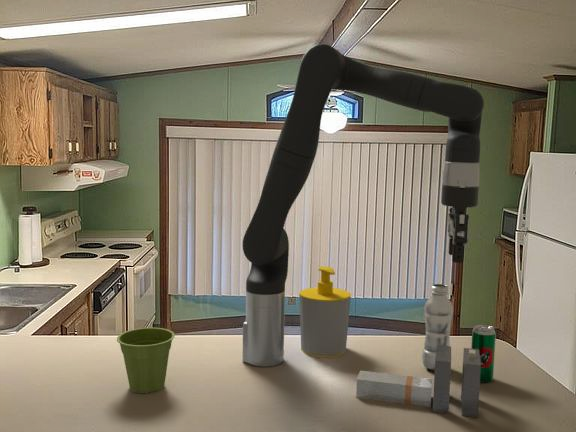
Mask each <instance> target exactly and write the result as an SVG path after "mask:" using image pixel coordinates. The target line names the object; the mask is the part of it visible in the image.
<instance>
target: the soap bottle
mask: <svg viewBox="0 0 576 432" xmlns="http://www.w3.org/2000/svg"><path fill="white" fill-rule="evenodd" d="M317 271H320V280H318V281H317V287H316V286H315V287H309V288H304V289H302V290H300V291H299V293H298V297H299V299H298V300H299V321H300V325H299V326H300V327H299V328H300V350H301V352H303V353H304V354H305V353H306V355H308V356H311V357H317V358H337V357H340V356H342V355H344V354H345V353H346V352H347V342H348V329H349V318H350V307H351V297H352V295H351V292H350V291H347V290H345V289H342V288H336V287H334V281H332V280H331V275H333V276H334V275H335V274H336V273H335V270H334V268H332V267H330V266H320V267H318V270H317Z"/></svg>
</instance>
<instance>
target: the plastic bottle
mask: <svg viewBox="0 0 576 432" xmlns="http://www.w3.org/2000/svg"><path fill="white" fill-rule="evenodd" d="M430 294H431V296H430V297H429V298H427V300H426V302H425V304H424V306H423V311H424V321H425V337H424V338H425V339H424V347H423V349H422V355H421V359H422V364H423V366H424V367H425V369H428V370H431V371H435V357H436V345H440V346H450V347H451V343H450V341H451V339H450V337H451V336H450V334H451V323H452V319H453V314H454V307H453V304H452V302H451V300H450V299H449V297H448V295H449V285H447V284H444V283H443V284H441V283H434V284H431V290H430Z"/></svg>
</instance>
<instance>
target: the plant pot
mask: <svg viewBox="0 0 576 432" xmlns="http://www.w3.org/2000/svg"><path fill="white" fill-rule="evenodd" d="M175 336H176V334H175V332H173V331H172V330H170V329H168V328H162V327H140V328H134V329H130V330H127V331H124V332H122V333H120V334H119V335H118V336H117V337H116V341H117V343H119V346H120V351H121V353H122V355H123V361H124V365H125V371H126V375H127V382H128V384H129V385H128V386H129V388H130V390H131V391H132V392H133V393H138V394H147V393H149V392H158V391H160V390H162V389H163V388H164V387H165V385H166V378H167V377H166V376H167V369H168V363H169V357H170V350H171V349H172V347H171V346H172V342H173V340H174V339H175Z"/></svg>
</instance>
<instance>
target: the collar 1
mask: <svg viewBox="0 0 576 432" xmlns="http://www.w3.org/2000/svg"><path fill="white" fill-rule="evenodd" d="M451 368H452V346H451V345H450V346H440V345H436V357H435V370H434V374H433V377H434V378H433V398H432V412H433V413H440V414H449V410H450V409H449V406H450V394H451V393H450V389H451V386H450V385H451V372H452V371H451V370H452V369H451Z"/></svg>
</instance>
